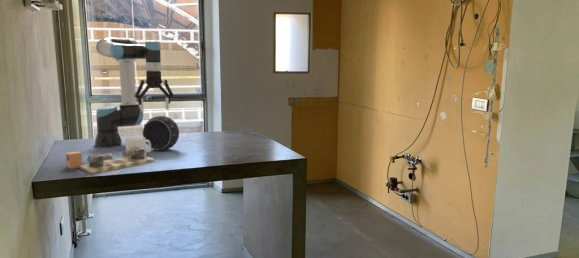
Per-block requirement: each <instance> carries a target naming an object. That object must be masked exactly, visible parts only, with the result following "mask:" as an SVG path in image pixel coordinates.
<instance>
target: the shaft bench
mask: <svg viewBox="0 0 579 258" xmlns="http://www.w3.org/2000/svg"><path fill="white" fill-rule="evenodd" d="M144 153H145V149H144V148H131V150H127V151H126V150H122V152H121V154H122V157H119V158H113V154H112V153H111V152H110V153H105V154H98V153H96V154H95V153H94V154H90V155H88V156H87V158H86V161H87V163H85V164H82V165H79V167H78V168H79V170H82V169H83V171H84V172H85V171H86V172H89V173H90V174H93V173H94V174H99V173H104V172H109V171H113V170H119V169H123V168H129V167H134V166H140V165H142V164H143V165H144V164H149V163H154V162H155V159H154V158H152V157H148V156H146V157H145V156H144ZM127 156H129V157H127ZM98 172H99V173H98Z"/></svg>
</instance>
